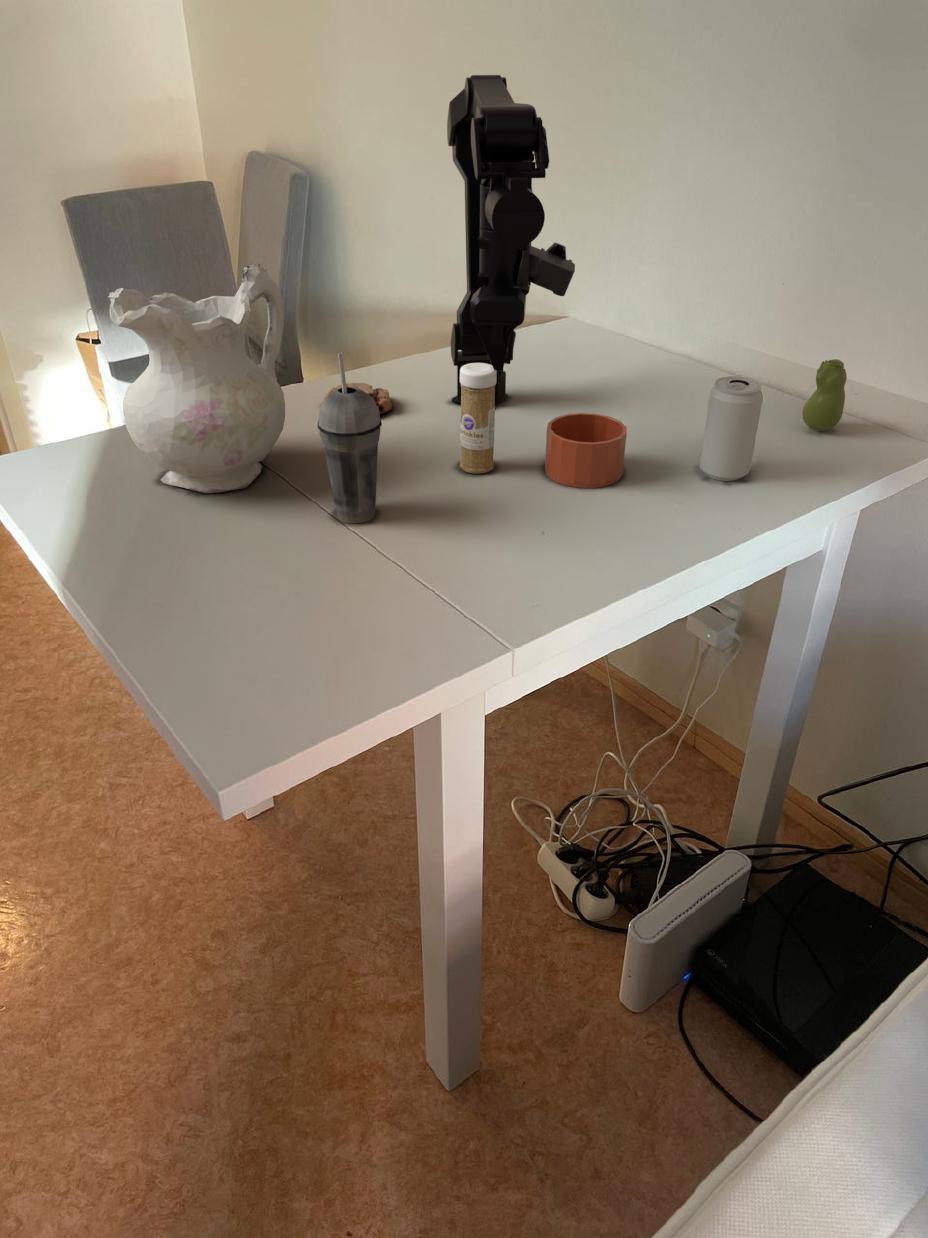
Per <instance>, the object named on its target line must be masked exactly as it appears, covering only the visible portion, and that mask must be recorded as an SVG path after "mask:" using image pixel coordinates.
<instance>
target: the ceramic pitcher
mask: <svg viewBox="0 0 928 1238" xmlns="http://www.w3.org/2000/svg"><path fill="white" fill-rule="evenodd" d="M268 270H269V268H265V269H264V266H263V265H261V263H258V264H255V263H254V264H249V265H247V266H244V267H243V269H242V271H240V273H241V274H242V276H241V284H240V286H239V288H238V290H237V292H235V295H233V296H226V295H225V296H223V295H211V296H209V297H206V298H203V299H200V300H197V301H195V302H193V301H192V300H189V299H187V298H185V297H182V296H180V295H178V294H175V293H174V292H169V291H168V292H167V291H165V292H163V293H161V294H154V295H153V296H151V297H149V298H147V297H146V296H145V295H144V293H142V292H141V291H140V290H137V289H131V288H130V287H129V288H128V287H127V288H124V287H119V288H117V289H116V290H114V291H112V292H109V295H108V298H109V301H110V304H109V317H110V321H111V322H112V323H113V324H114V325H115V326H117V327H121V328H125V329H129V330H132V332H134V333H135V334H136V335H137V336H138V337H140V338H141V339H142V340H143V342H144V343H145V344H146V347H147V351H148V355H149V356H148V357H149V362H148V366H147V367H146V368H145V370H144V371H143V372H142V373H141V374H140V375H139V376H138V378H136V379H135V380H134V381H133V382H132V383H131V384H129V386H127V388H126V390H125V393H124V396H123V400H122V414H123V416H124V422H125V427H126V430H127V431H128V434H129V436H130V438H131V440H132V441H133V443H134V444H135V446H136V447H137V448H138V450H140V451H141V452H142V453H143V455H144V456H146V458H147V459H149V460H150V461H151V462H152V463H153V464H155V465H157V466H159V467H160V468H161V469H164V470H168V471H167V472H166V473H165V474H164V475H163V476H162V477H161V478H160V482H162V484H165V485H168V486H174V487H178V488H182V489H183V488H184V489H187V490H191V491H195V492H199V493H203V494H213V493H214V494H215V493H224V492H229V491H233V490H234V491H235V490H239V489H240V490H241V489H247V488H248V486H249V485H250V484H252V483H253V481H254V480H256V479H257V477H258V476H259V475H260V474H261V473H262V468H263V465H262V464H261V461H263V460H264V459H265V458H266V456H267V455H268V454H269V453H270V451H272V449H273V448H274V446H275V444H276V443H277V441H278V440H279V437H280V436H281V435H282V432H283V430H284V426H285V421H286V420H285V419H286V401H285V394H284V391H283V388H282V387H281V385H280V384H279V383H278V378H277V375H276V370H275V366H276V365H275V361H276V359H277V357H278V355H279V352H280V349H281V348H282V340H283V332H284V326H285V305H284V300H283V295H282V293H281V291H280V288H279V285H278V284H277V283H276V282H275V281H274V280H273V279H272V277H271V276H270V275H269V273H268V272H267V271H268ZM261 298H263V300H264V302H265V305H266V310H267V318H268V321H267V322H268V324H267V330H266V333H265V337H264V340H263V350H262V357H261V361H260V363H259V364H256V363H255V362H254V361H253V360H252V359H251V358H250V357H249V355H247V351H246V346H245V338H246V331H247V328H248V323H249V321H250V318H251V313H252V312H251V306H252V305H253V304H255V302H256V301H257V300H259V299H261Z"/></svg>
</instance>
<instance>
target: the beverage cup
mask: <svg viewBox="0 0 928 1238" xmlns="http://www.w3.org/2000/svg"><path fill="white" fill-rule="evenodd" d="M343 357H344V355H343V352H341V351H339V352H337V361H338V368H339V376H340V383H341V384H342V388H339V389H336V390H335V391H333V392H331V393H330V394H329V395H328V396H327V397H326V398H325V397H324V398H325V400H324V399H323V401H322V403H321V405H320V407H319V411H318V420H317V429H318V430H319V436H320V440H321V443H322V444H323V448H324V454H325V457H326V458H325V460H326V465H327V470H328V476H329V481H330V482H329V483H330V487H331V493H332V499H333V505H334V507H335V512H336V517H337V519H338V520H339V521H341V522H342V523H346V524H353V525H355V524H362V523H367V522H369V521H371V520H372V519H374V517H375V516H376V514H375V510H376V504H377V479H378V478H377V477H378V448H379V441H380V436H381V427H382V425H383V423H382V418H381V417H380V415H381V414H380V415H379V411H378V408H377V405H376V403H375V402H374V400H373V399H372V398H371V397H370V396H369V395H368V394H367V393H366V392H364V391H362V390H360V389H358V388H354V387H346V383H347V381H346V373H345V364H344V358H343ZM341 384H340V385H341Z"/></svg>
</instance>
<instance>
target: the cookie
mask: <svg viewBox="0 0 928 1238" xmlns="http://www.w3.org/2000/svg"><path fill="white" fill-rule="evenodd" d="M346 387H354V388H358V389H360V390H362V391H364V392H366V393H367V394H368V395H369V396H370V397H371V398H372V399H373V400H374V402H375V403H376V405H377V408H378V411H379V415H382V414H387V412H390V411H391V410H392V408H393V403H392V399H391V397H390V392H389V390H388V389H384V388H382V387H376V388H375V389H374V388H373V386H372V385H371V384H368V383H364V382H346ZM339 388H342V384H339V385H337V386H334V387H333V388H330V389H329V390H328V391H326V393H325V395H324V398H323V401H324V400H325V398H326V397H327V396H328V395H329V394H330V393H331V392H333V391H335V390H336V389H339Z"/></svg>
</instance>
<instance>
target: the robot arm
mask: <svg viewBox="0 0 928 1238" xmlns="http://www.w3.org/2000/svg"><path fill="white" fill-rule="evenodd" d="M447 112H448V113H447V119H446V121H447V122H446V137H447V138H446V139H447V146H448V147H451V153H452V155H451V156H452V162H453V163H454V166H455V168H456V169H457V170H458V172H459V174H460V177H462V180H463V182H464V219H465V220H464V221H465V226H464V227H465V267H466V268H465V269H466V270H465V271H466V293H465V295H464V296H463V298H462V300H461V302H460V304H459V306H458V308H457V309H456V323H455V322H454V323H452V329H451V336H450V357H451V360H452V364H453V366H454V367H456V388H457V389H456V395H455V396H453V397H452V398H451V402H452V403H454V404H458V405H461V383H460V369H461V367H462V366H464V365H466V364H470V363H486V364H490V365H492V366H493V369H494V370H496V371H497V381H496V386H495V400H494V401H495V403H494V405H495V406H497V405H498V404H500V403H502V401H504V400H506V399H507V398H509V394H508V393H506V392H507V391H506V390H507V389H506V387H507V373H506V371H505V370H504V368H505V367H504V366H505V365H511V361H513V360H514V347H515V342H516V337H517V333H516V328H518V327H519V326H521V325H523V323H524V321H525V318H526V307H527V296H528V294H529V293H530V288H531V285H532V284H533V285H536V286H539V287H541V288H544V289H545V290H548V291H551V292H552V293H553V294H554V295H556V296H558V297H565V296H566V294H567V291H568V289H569V286H570V284H571V282H572V279H573V276H574V274H575V272H576V264H575V263H574V262H573V260H572V259H567V247H566V246H565V245H563V244H560V243H558V242H556V241H555V242H554V243H552V245H551V246H549V247H548V248H547V249H545V248H543V247H542V248H538V247H536V246H532V242H534V241H535V240H536V239H537V238H538V236H539V235H540V234H541V233H542V230H543V228H544V225H545V220H546V219H545V218H546V215H545V214H546V213H545V209H544V206H543V204H542V202H541V200H540V199H539V197H538V196H537V195H536V194H535V193H534V192H533V186H532V185H533V183H532V182H533V181H532V180H533V179H546V176H547V174H546V173H547V172H546V170H547V169H548V168H549V165H550V156H549V155H550V153H549V147H548V145H549V144H548V138H547V137H548V136H547V130H546V128H545V127H544V125H543V119H542V117H541V116H538V115H537V109H536V107H534V106H533V105H531V104H529V103H520V102H515V101H514V98H513V97H512V94H511V93H510V92H509V89H508V84H507V78H506V76H501V74H471V75H470V76H469V77H465V82H464V88H463V89H462V90H461V91H460V92H459V93H457V95H456V96H455V97H453V99H451V100H450V101H449V104H448V111H447Z"/></svg>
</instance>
